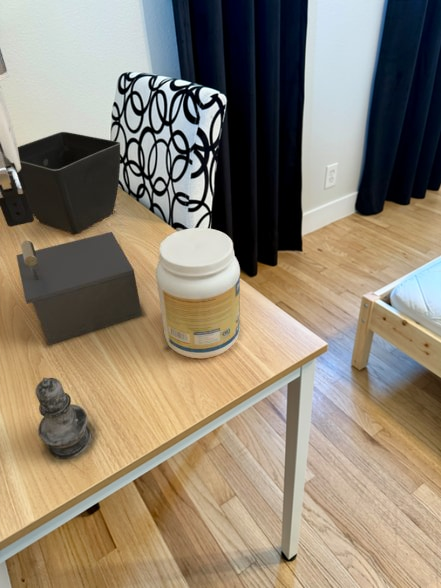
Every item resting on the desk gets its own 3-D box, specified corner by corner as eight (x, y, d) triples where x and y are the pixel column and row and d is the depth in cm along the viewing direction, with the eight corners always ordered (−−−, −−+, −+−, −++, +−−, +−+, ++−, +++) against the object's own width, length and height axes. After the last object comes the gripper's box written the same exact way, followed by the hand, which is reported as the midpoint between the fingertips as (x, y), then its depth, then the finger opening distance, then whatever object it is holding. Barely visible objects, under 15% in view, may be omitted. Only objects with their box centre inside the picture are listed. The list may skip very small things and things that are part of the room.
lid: (26, 304, 63) (15, 275, 60) (17, 258, 73) (7, 232, 69) (134, 273, 68) (129, 245, 65) (112, 235, 78) (107, 209, 75)
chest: (48, 345, 69) (32, 302, 63) (37, 298, 78) (22, 258, 73) (142, 315, 74) (134, 273, 68) (120, 274, 84) (112, 235, 78)
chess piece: (36, 449, 54) (4, 387, 47) (69, 414, 58) (44, 352, 51) (71, 469, 52) (43, 407, 44) (103, 431, 56) (82, 369, 48)
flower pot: (78, 194, 113) (62, 129, 103) (133, 210, 105) (122, 141, 95) (18, 225, 100) (-7, 154, 90) (76, 246, 92) (56, 170, 82)
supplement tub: (254, 343, 68) (257, 253, 57) (185, 373, 63) (174, 281, 53) (216, 301, 76) (213, 216, 66) (153, 326, 72) (138, 238, 61)
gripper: (-67, 56, 52) (-14, 189, 62) (-77, 86, 39) (-10, 244, 50) (0, 50, 54) (39, 178, 65) (9, 75, 42) (56, 229, 52)
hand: (18, 207), depth 57 cm, fingers open, 9 cm apart
